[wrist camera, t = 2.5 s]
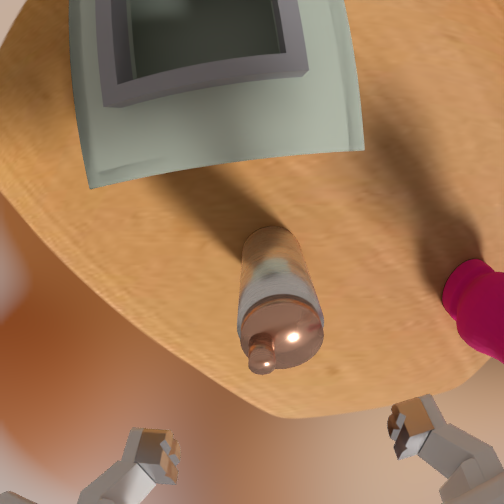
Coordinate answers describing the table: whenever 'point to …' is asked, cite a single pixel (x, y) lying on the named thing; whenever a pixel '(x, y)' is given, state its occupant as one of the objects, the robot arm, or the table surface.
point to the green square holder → (209, 83)
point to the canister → (277, 303)
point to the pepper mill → (477, 306)
